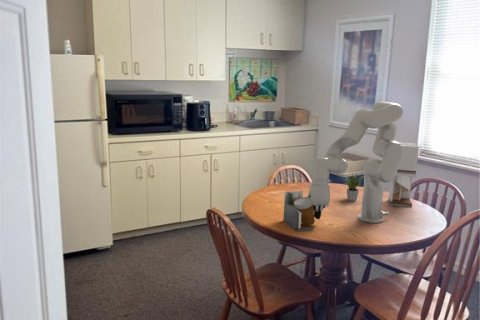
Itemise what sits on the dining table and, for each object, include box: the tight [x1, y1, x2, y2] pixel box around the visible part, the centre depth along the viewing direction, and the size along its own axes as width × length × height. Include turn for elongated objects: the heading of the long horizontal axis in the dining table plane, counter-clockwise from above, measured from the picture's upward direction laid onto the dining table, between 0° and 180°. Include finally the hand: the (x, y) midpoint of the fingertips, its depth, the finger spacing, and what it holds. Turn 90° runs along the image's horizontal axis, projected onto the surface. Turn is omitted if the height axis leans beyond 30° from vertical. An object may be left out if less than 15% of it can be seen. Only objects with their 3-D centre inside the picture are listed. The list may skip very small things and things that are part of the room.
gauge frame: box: [282, 190, 314, 232], centre depth 197 cm, size 10×15×15 cm, turn 16°
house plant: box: [343, 173, 364, 202], centre depth 240 cm, size 14×14×16 cm
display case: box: [388, 142, 420, 208], centre depth 234 cm, size 11×11×35 cm
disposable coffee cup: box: [294, 196, 316, 227], centre depth 198 cm, size 10×10×12 cm
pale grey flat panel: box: [290, 193, 302, 229], centre depth 197 cm, size 1×13×14 cm, turn 16°
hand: (317, 218), depth 201 cm, fingers closed
